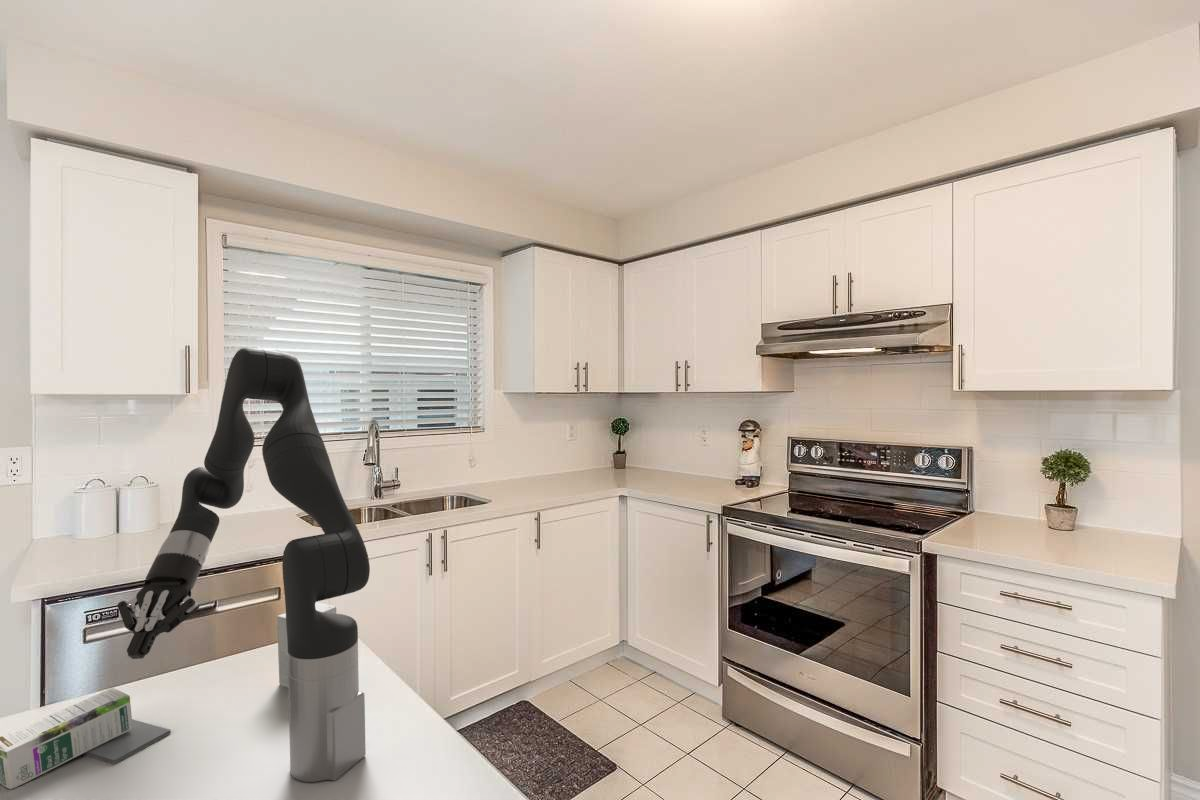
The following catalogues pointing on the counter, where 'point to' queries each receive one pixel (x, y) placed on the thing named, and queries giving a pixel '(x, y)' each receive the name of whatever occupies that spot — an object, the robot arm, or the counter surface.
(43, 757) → the syrup box
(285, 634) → the small box
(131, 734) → the slate trivet
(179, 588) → the robot arm
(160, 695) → the counter surface
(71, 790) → the counter surface
